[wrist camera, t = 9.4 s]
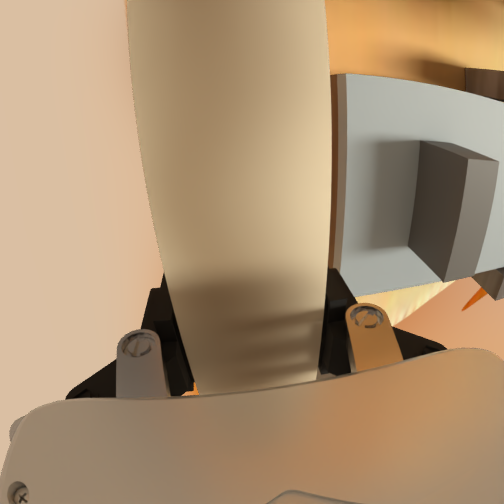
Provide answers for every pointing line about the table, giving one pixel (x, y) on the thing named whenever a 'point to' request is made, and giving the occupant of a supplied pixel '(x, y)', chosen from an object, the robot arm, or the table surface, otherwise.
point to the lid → (416, 184)
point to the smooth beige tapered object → (238, 179)
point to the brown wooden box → (477, 82)
